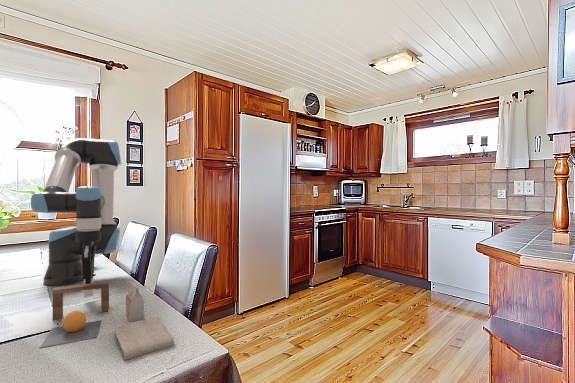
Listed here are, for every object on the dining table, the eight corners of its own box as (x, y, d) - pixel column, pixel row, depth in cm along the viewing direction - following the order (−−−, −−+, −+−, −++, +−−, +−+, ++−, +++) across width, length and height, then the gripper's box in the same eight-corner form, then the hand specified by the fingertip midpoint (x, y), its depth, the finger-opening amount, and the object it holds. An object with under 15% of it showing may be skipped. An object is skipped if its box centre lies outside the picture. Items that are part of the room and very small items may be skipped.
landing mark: (52, 328, 85) (52, 328, 85) (101, 320, 90) (101, 320, 90) (39, 348, 74) (39, 347, 74) (96, 337, 80) (96, 337, 80)
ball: (59, 329, 79) (62, 337, 82) (84, 325, 81) (86, 332, 85) (62, 309, 82) (65, 317, 86) (86, 305, 85) (88, 313, 88)
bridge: (55, 317, 93) (55, 287, 93) (109, 309, 99) (109, 281, 99) (52, 320, 90) (52, 290, 90) (108, 312, 97) (108, 283, 97)
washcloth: (157, 323, 90) (157, 313, 90) (176, 347, 76) (176, 335, 76) (111, 334, 83) (111, 323, 83) (123, 364, 68) (123, 350, 68)
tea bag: (138, 313, 96) (138, 281, 96) (143, 319, 91) (144, 287, 91) (125, 315, 94) (126, 284, 94) (130, 323, 89) (130, 289, 89)
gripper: (79, 228, 111) (79, 292, 111) (72, 232, 99) (71, 303, 99) (103, 227, 114) (102, 289, 114) (98, 231, 102) (98, 300, 102)
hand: (88, 295), depth 106 cm, fingers closed
